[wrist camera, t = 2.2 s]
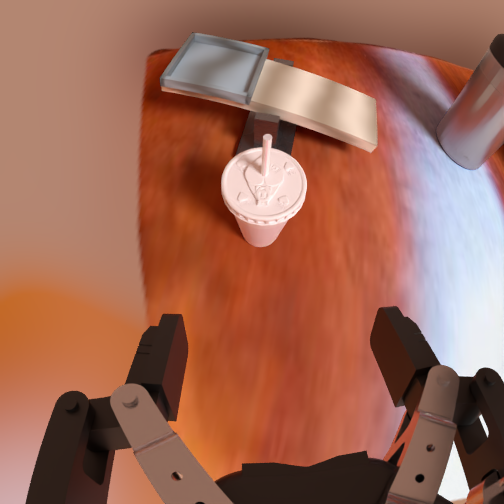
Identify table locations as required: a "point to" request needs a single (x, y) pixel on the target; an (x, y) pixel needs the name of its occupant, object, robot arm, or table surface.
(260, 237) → the smoothie
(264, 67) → the balance beam
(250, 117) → the pivot stand
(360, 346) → the table surface
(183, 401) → the table surface
